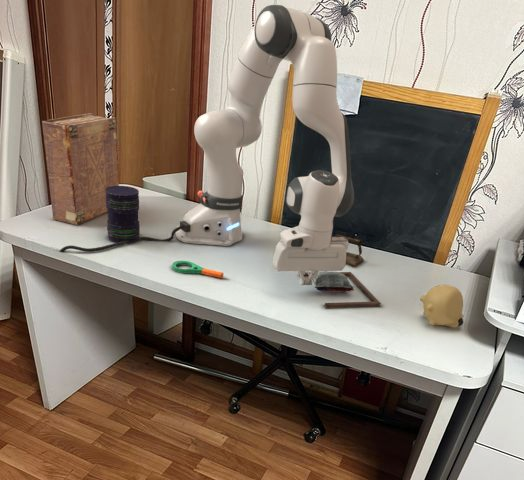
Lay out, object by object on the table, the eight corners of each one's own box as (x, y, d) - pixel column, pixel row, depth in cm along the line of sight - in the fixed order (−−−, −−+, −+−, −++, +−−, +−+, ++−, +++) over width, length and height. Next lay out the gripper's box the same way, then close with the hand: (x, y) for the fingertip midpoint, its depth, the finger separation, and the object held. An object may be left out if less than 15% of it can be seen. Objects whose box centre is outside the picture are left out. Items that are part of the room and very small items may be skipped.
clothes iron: (356, 269, 158) (355, 239, 153) (325, 266, 164) (322, 237, 159) (365, 261, 163) (364, 231, 158) (334, 258, 169) (332, 230, 164)
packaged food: (306, 281, 145) (309, 265, 142) (345, 283, 147) (348, 267, 145) (313, 295, 138) (316, 279, 135) (353, 296, 140) (357, 281, 137)
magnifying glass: (168, 269, 141) (168, 264, 140) (178, 262, 146) (178, 257, 145) (217, 282, 138) (218, 276, 137) (226, 274, 143) (226, 269, 142)
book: (98, 201, 184) (92, 112, 168) (120, 206, 182) (116, 117, 166) (52, 219, 163) (41, 120, 147) (77, 225, 161) (68, 126, 145)
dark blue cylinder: (129, 246, 152) (127, 197, 144) (101, 239, 154) (98, 190, 146) (145, 236, 160) (145, 190, 152) (119, 230, 162) (117, 183, 154)
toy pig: (440, 343, 131) (479, 322, 127) (421, 311, 125) (461, 289, 121) (429, 323, 139) (465, 303, 135) (410, 293, 133) (447, 271, 130)
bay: (325, 308, 132) (326, 304, 132) (300, 275, 148) (301, 272, 148) (380, 306, 137) (380, 303, 136) (349, 274, 153) (350, 271, 152)
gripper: (345, 232, 137) (335, 278, 144) (274, 231, 131) (268, 279, 138) (354, 241, 132) (344, 288, 139) (281, 240, 126) (274, 290, 133)
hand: (305, 284), depth 138 cm, fingers closed
